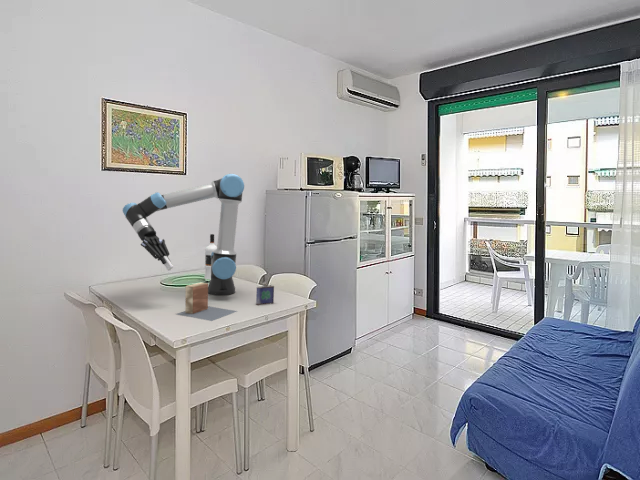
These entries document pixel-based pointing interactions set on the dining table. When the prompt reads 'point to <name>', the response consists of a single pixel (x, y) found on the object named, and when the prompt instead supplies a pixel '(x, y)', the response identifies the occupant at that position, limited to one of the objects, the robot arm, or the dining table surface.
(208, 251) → the vodka
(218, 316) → the mat
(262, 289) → the flask
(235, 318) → the dining table surface
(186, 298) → the wooden block
